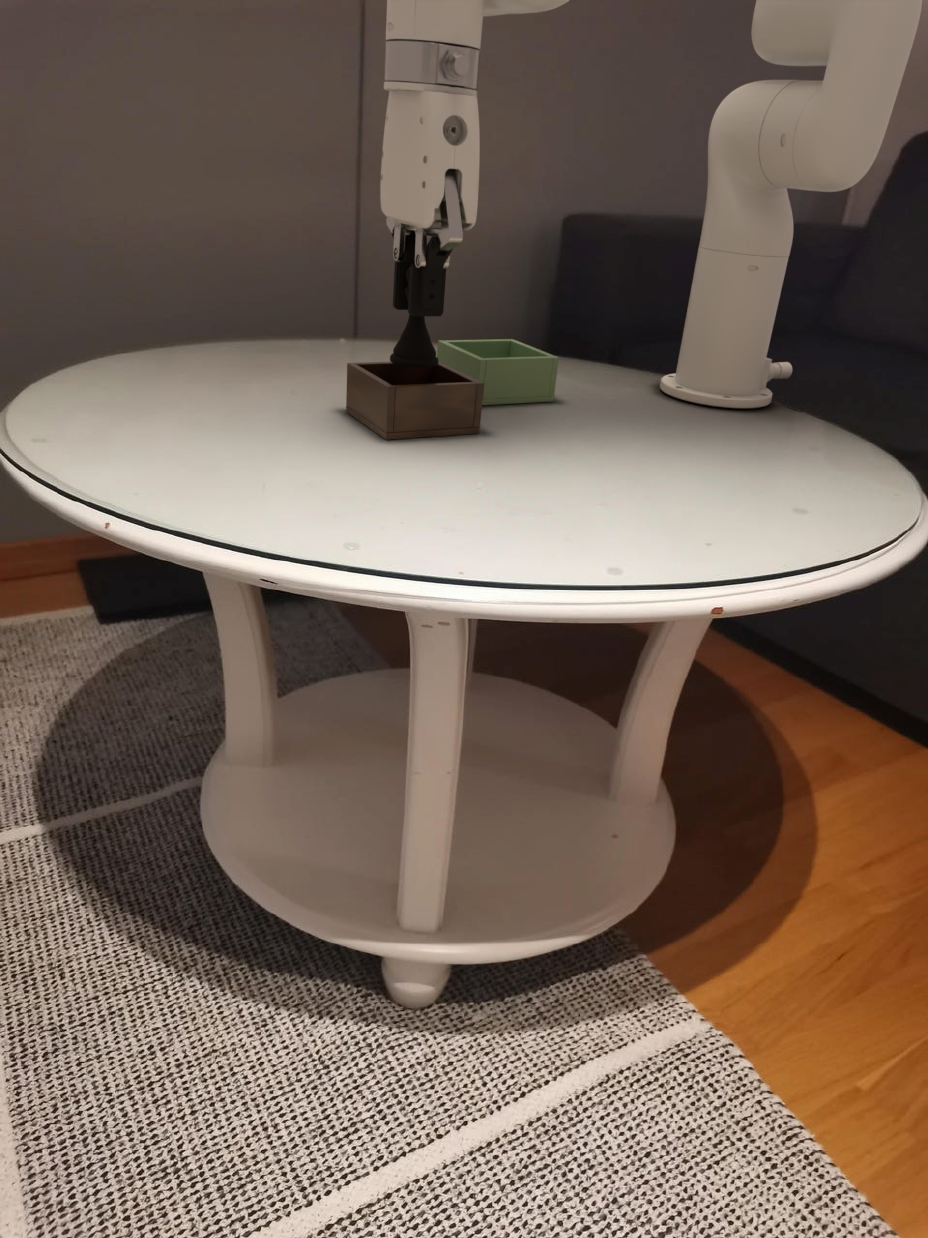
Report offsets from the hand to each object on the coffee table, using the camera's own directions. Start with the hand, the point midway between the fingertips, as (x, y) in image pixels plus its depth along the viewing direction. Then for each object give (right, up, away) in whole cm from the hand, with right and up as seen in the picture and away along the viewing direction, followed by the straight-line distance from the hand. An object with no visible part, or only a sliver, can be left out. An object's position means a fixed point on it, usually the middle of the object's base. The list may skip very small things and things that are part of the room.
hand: (417, 310), depth 83 cm
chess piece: (0, -4, +2) cm, 5 cm away
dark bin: (-1, -9, +5) cm, 10 cm away
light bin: (+7, -3, +18) cm, 19 cm away
